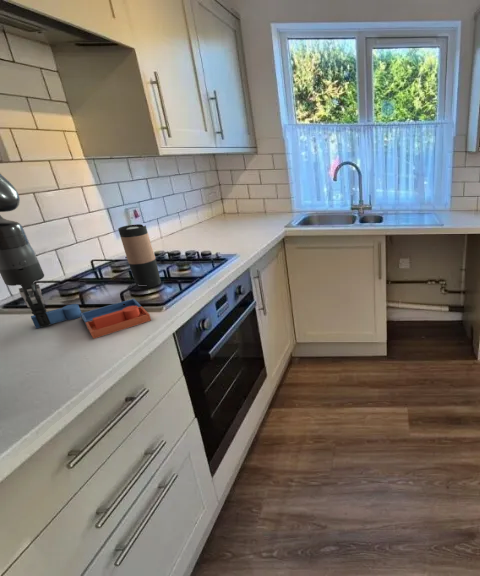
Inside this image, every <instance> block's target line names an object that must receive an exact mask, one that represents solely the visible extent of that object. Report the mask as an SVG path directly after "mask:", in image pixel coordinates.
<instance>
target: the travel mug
mask: <svg viewBox="0 0 480 576" xmlns="http://www.w3.org/2000/svg"><path fill="white" fill-rule="evenodd" d="M117 230H118V233H119V236H120V240H121V243H122V246H123V249H124V253H125V256H126V261H127V263H128V266H129V269H130V271H131V274H132V277H133V279H134V282H135V285H136V284H139V285H147V286H138V285H136V287H137V286H138V287H139V288H138V287H137V288H138V289H141V290H142V289H144V290H145V289H151V288H154V287H158V286H159V285H161V284H162V280H161V279H162V278H161V275H160V272H159V268H158V263H157V259H156V256H155V252H154V249H153V245H152V243H151V239H150V235H149V233H148V229H147V225H143V224H140V223H138V224H136V223H135V224H128V225H124V226H120V227H118V228H117Z"/></svg>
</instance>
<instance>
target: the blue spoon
mask: <svg viewBox="0 0 480 576" xmlns="http://www.w3.org/2000/svg"><path fill="white" fill-rule="evenodd" d="M80 313H82V310H81V308H80V306H79V304H78V303H72V304H67V305H65V306H63V307H60V308H56V309H52V310H49V311H46V314H47V316H48V318H49V320H50V323H51V324H50V325H54V324H57V323H60V322H61V323H62V322H64V321H67V320H68V321H71V320H76V319H79V318H82V317H81V315H80ZM30 318H31V321H32V323H33V325H34V327H35V329H39V328H41V327H40V325H39V323H38V321H37V319H36V317H35V315H34V314H32V315H31V316H30Z"/></svg>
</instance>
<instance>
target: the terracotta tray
mask: <svg viewBox="0 0 480 576" xmlns="http://www.w3.org/2000/svg"><path fill="white" fill-rule="evenodd" d="M138 309H139V312H140V315H141V316H140V317H137V318H133V319H130V320H127V321H123V322H120V323H117V324H114V325H110V326H107V327H104V328H101V329H96V327H95V324H94V322H93V321H89V322H86V325H85V327H86V326H87V327H86V328H87V330H88V332H89V333H90V335H91V337H92V339H97V338H100V337H103V336H106V335H110V334H113V333H116V332H120V331H123V330H126V329H128V328H132V327H135V326H137V325H141V324H143V323H148V322H150V321H152V318H151V315H150V313H149V312H148V311H147V310H146V309H145V308H144V307H143V306H142V305H141V307H138Z"/></svg>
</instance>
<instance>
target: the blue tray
mask: <svg viewBox="0 0 480 576" xmlns="http://www.w3.org/2000/svg"><path fill="white" fill-rule="evenodd" d="M123 304H125V305H123ZM129 306H137V307H141V306H142V305H141V304H140V302H138V301H137V300H136V299H135V298H131V299H127V300H124V301H120V302H115V303H112V304H108V305H105V306H101V307H98V308H94V309H91V310H87V311H83V312H81V313H80V315H81V317H80V318H81V319H82V321H83V323H84V325H85V327H86V328H87V326H86V322H89V321H93V319H92V318H95V317H99V316H102V315H106V314H109V313H113V312H116V311H120V310H122V309H124V308H126V307H129Z"/></svg>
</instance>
